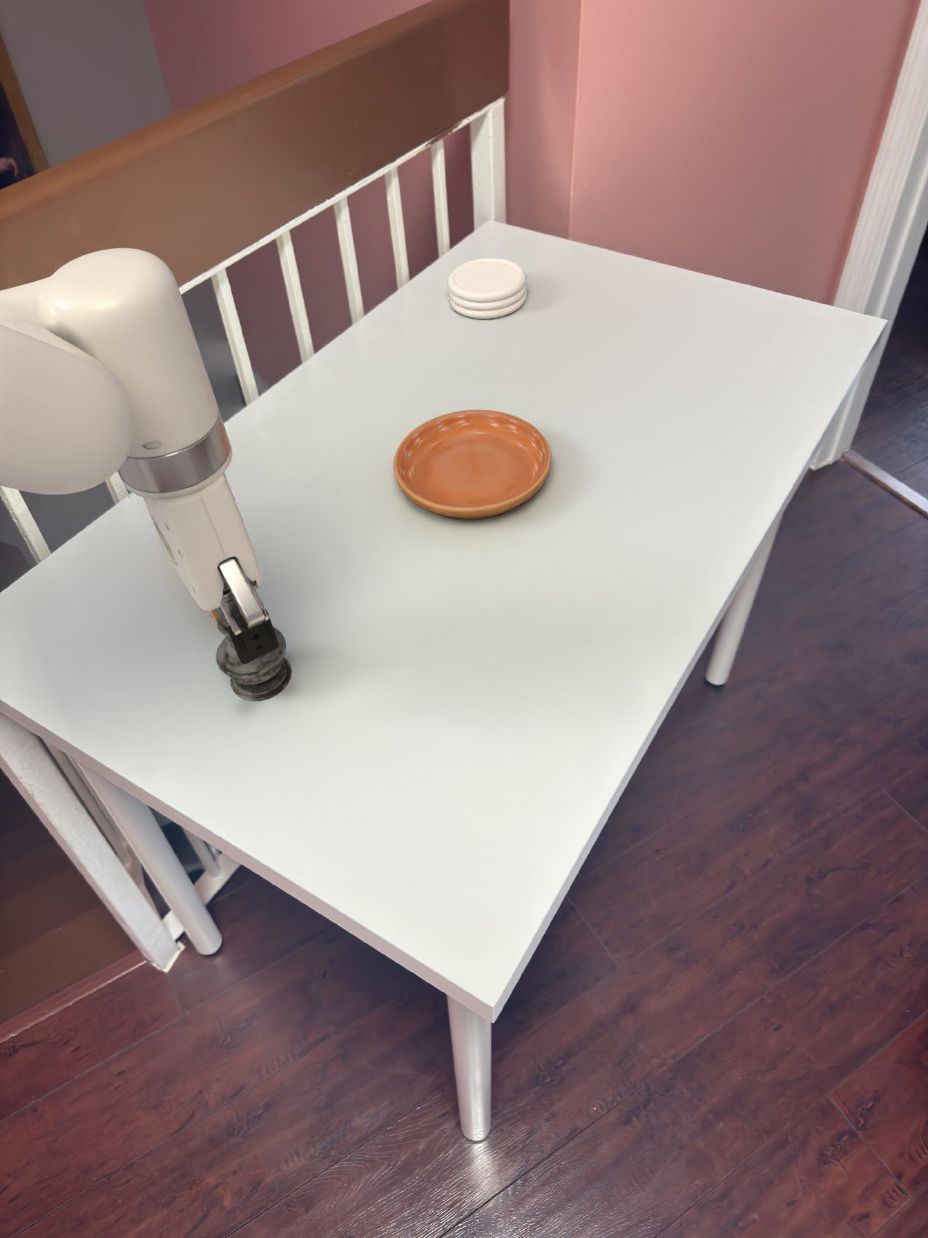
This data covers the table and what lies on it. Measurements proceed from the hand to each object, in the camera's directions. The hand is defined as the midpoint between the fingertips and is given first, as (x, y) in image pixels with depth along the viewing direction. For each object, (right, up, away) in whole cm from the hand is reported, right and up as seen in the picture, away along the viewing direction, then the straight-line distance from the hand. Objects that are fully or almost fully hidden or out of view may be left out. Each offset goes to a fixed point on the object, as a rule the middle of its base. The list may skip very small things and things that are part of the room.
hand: (239, 621), depth 73 cm
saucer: (+19, +15, +21) cm, 32 cm away
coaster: (+21, +41, +45) cm, 64 cm away
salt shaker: (+1, -5, +5) cm, 7 cm away
